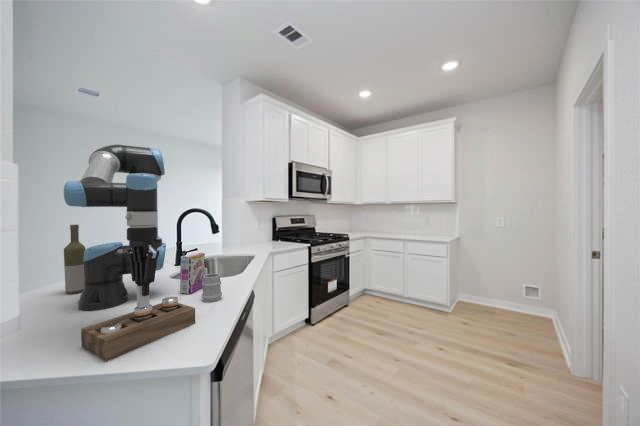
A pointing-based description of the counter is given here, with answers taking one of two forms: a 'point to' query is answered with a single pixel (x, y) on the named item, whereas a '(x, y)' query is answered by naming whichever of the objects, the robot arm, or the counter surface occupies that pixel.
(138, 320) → the knob
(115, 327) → the knob
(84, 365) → the counter surface
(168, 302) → the knob
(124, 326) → the wooden candle holder
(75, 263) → the bottle
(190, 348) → the counter surface
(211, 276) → the mug
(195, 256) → the candy bar box
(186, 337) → the counter surface
